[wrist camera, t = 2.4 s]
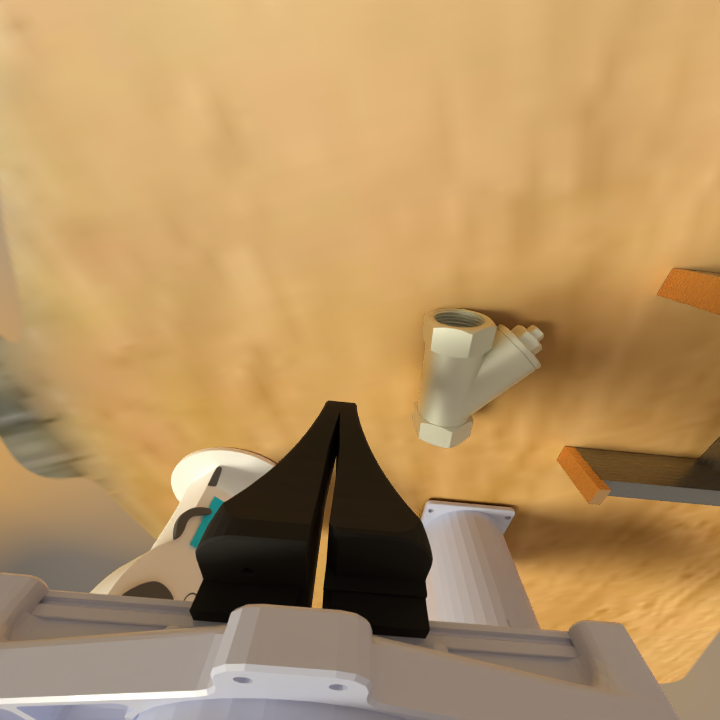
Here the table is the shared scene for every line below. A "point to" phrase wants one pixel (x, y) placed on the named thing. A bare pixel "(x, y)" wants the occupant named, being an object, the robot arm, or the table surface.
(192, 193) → the table surface
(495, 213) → the table surface
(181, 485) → the panda figurine
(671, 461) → the grey u-shaped frame
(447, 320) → the pipe fitting
